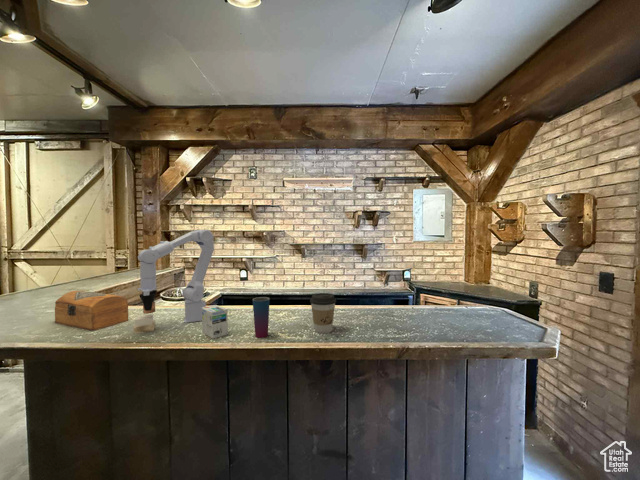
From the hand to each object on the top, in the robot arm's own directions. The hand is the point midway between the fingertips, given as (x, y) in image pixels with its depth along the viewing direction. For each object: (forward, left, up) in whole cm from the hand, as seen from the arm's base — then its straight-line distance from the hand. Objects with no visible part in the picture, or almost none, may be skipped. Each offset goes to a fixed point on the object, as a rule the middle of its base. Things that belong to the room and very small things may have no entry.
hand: (149, 308), depth 116 cm
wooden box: (+27, -26, -10) cm, 39 cm away
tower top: (+2, -2, -7) cm, 8 cm away
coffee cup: (-67, +33, -10) cm, 76 cm away
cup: (-42, +27, -10) cm, 51 cm away
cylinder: (0, 0, -1) cm, 1 cm away
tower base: (+2, -2, -10) cm, 10 cm away
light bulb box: (-25, +16, -10) cm, 32 cm away
